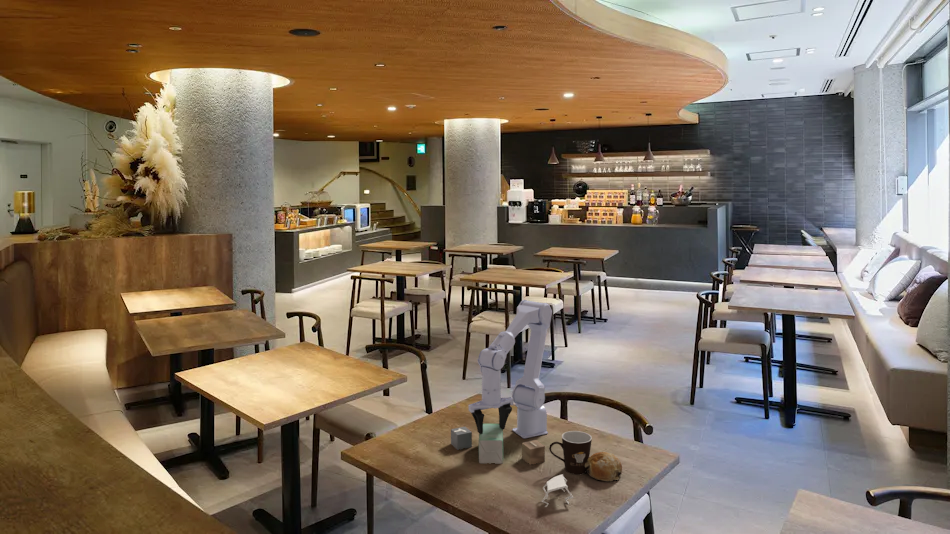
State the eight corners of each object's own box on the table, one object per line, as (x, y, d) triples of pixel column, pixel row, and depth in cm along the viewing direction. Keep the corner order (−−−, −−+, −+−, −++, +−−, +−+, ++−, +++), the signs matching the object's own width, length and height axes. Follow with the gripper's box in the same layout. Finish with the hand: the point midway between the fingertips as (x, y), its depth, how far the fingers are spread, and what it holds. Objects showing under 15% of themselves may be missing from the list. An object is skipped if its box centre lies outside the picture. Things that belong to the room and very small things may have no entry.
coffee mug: (593, 465, 185) (594, 433, 184) (588, 478, 177) (589, 445, 176) (554, 459, 189) (555, 428, 188) (548, 472, 181) (548, 439, 180)
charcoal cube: (465, 441, 202) (464, 425, 202) (471, 447, 198) (471, 431, 197) (450, 444, 200) (450, 428, 199) (457, 450, 196) (457, 434, 195)
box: (502, 444, 200) (502, 422, 199) (503, 464, 186) (503, 440, 185) (479, 444, 200) (479, 422, 199) (478, 464, 187) (478, 440, 186)
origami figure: (572, 512, 160) (572, 494, 159) (539, 508, 162) (539, 490, 161) (576, 489, 171) (576, 472, 170) (546, 486, 173) (546, 469, 172)
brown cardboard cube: (535, 455, 192) (536, 439, 191) (544, 461, 188) (544, 445, 187) (521, 458, 190) (521, 442, 189) (530, 465, 186) (530, 448, 185)
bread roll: (606, 496, 174) (620, 475, 171) (576, 471, 178) (589, 451, 175) (618, 481, 182) (631, 461, 179) (589, 458, 187) (602, 438, 184)
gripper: (475, 395, 184) (475, 439, 186) (518, 388, 190) (518, 430, 192) (465, 388, 190) (465, 431, 192) (507, 381, 197) (506, 422, 199)
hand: (491, 430), depth 193 cm, fingers open, 7 cm apart
